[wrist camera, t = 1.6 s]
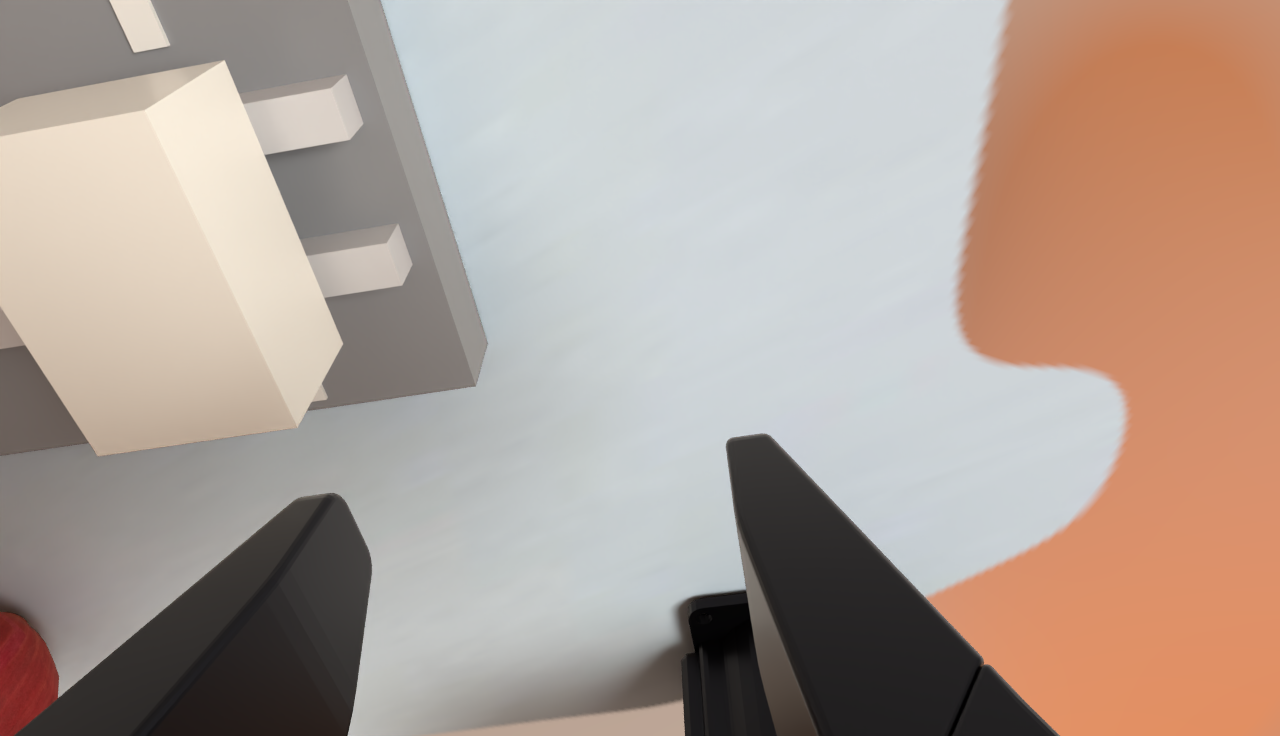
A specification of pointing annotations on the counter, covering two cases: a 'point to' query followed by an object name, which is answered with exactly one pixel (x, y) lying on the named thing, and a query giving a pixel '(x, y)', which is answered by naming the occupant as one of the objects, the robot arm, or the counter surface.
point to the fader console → (280, 178)
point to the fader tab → (157, 262)
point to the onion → (23, 674)
